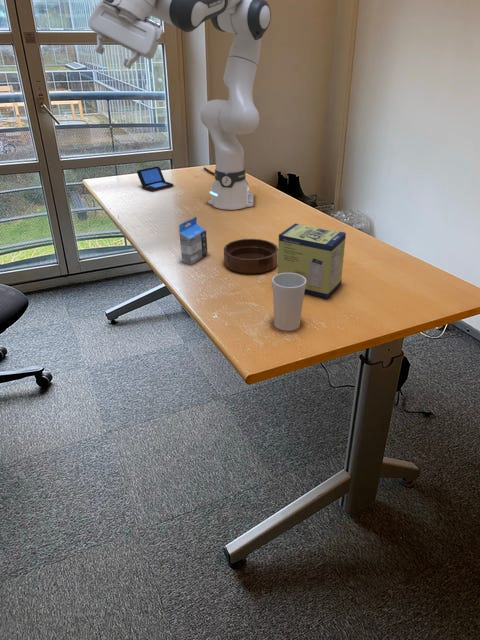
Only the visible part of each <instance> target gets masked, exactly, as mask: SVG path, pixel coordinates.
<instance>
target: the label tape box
mask: <svg viewBox="0 0 480 640" xmlns="http://www.w3.org/2000/svg"><path fill="white" fill-rule="evenodd" d="M197 221H198V216H194V217H192V218H190V219H188V220H185V221H184V222H181V223H179V225H178V228H179V229H178V230H179V232H178V234H179V243H180V253H181V254H180V255H181V262H182V263H184V264H186V265H187V264H188V265H193V264H195V263H196V262H198V261H200V260H202V259H203V258H205V257H206V256H208V255H209V254H208V252H209V251H208V239H207V237H208V236H207V230H206V229H205V228H204V227H202V226H201V225H199V224H198V222H197ZM188 224H189V225H188Z"/></svg>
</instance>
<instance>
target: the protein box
mask: <svg viewBox="0 0 480 640" xmlns="http://www.w3.org/2000/svg"><path fill="white" fill-rule="evenodd" d="M346 238H347V232H344V231H339V230H333V229H328V228H322V227H317V226H312V225H306V224H300V223H296V222H295V223H293V224H292V225H291V226H290V227H288V228H287V229H285V230H283V231H282V232H281V233H279V234H278V246H277V247H278V263H277V274H281V273H296V274H299V275H302V276H303V277H305V279H306V286H305V292H304V295H310V296H312V297H313V296H314V297H317V298H321V299H325V300H327V299H329V298H330V297H331V296H332V294H334V292H335V291H336V290H337V289H338V288H339V287H340V286H341V284H342V279H343V278H342V277H343V267H344V257H345V248H346V247H345V246H346Z"/></svg>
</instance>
